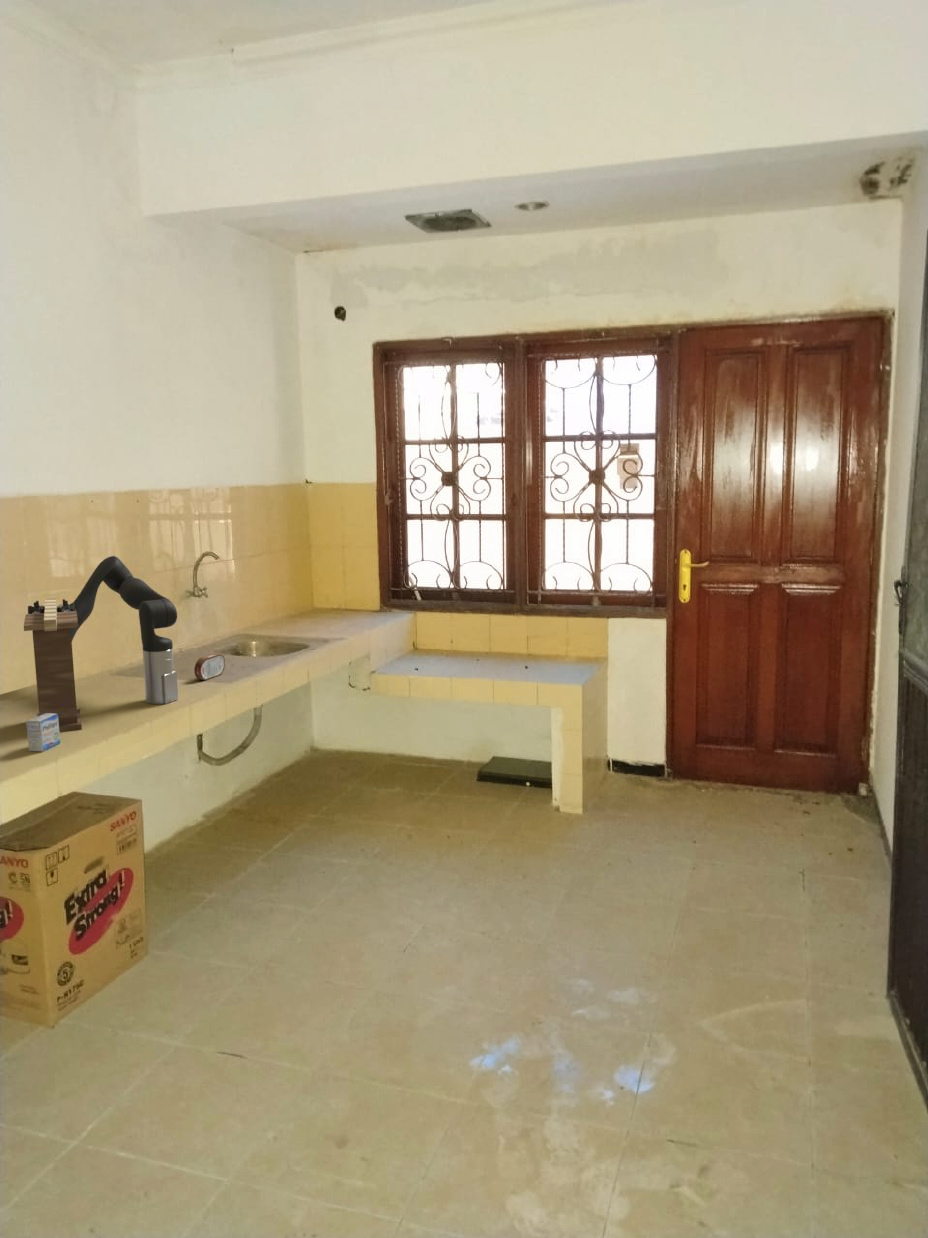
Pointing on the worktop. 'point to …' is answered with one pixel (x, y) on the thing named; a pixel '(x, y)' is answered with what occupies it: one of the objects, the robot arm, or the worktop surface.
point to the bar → (50, 615)
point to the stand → (55, 668)
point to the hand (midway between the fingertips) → (50, 602)
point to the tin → (209, 666)
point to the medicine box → (43, 732)
